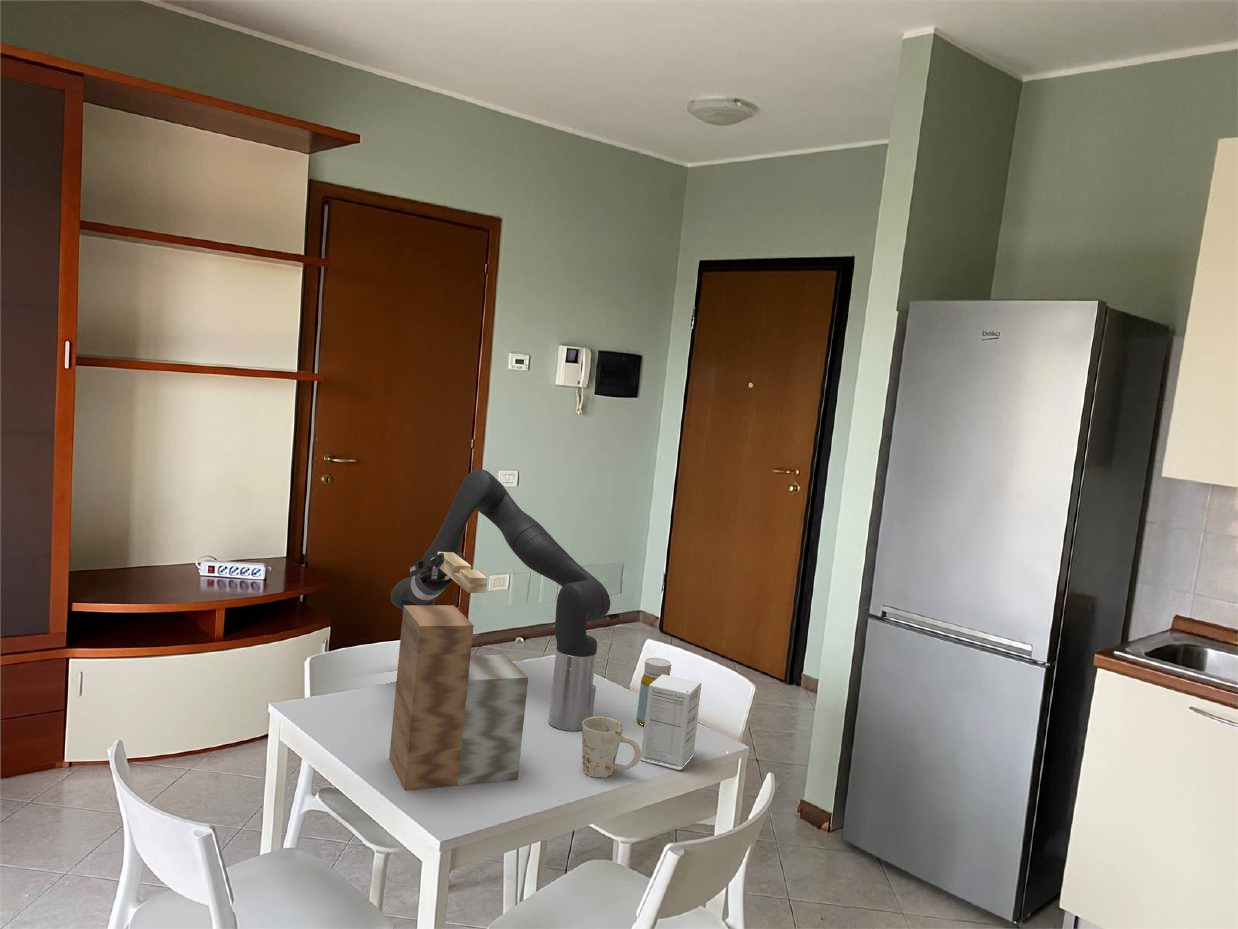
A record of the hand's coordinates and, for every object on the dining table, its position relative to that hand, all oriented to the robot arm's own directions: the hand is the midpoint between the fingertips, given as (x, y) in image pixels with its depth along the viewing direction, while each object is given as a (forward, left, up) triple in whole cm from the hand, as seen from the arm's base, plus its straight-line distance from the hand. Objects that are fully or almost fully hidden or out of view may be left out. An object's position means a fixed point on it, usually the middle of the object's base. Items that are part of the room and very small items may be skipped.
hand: (451, 557), depth 194 cm
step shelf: (+2, +21, -38) cm, 43 cm away
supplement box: (-44, +25, -38) cm, 63 cm away
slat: (0, +7, -3) cm, 8 cm away
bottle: (-50, +6, -38) cm, 63 cm away
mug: (-28, +29, -38) cm, 55 cm away
